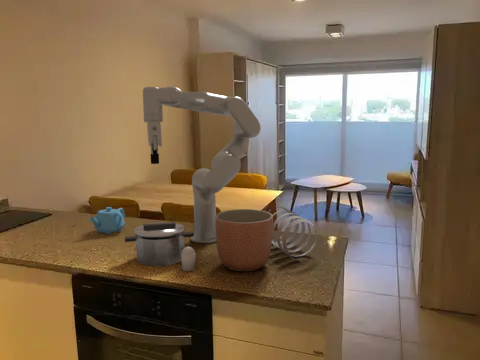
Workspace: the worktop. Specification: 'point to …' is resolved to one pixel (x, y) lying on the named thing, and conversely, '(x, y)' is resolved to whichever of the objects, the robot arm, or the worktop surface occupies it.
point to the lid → (159, 230)
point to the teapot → (109, 220)
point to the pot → (159, 249)
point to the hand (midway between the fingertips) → (155, 163)
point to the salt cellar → (188, 259)
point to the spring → (288, 229)
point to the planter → (244, 238)
